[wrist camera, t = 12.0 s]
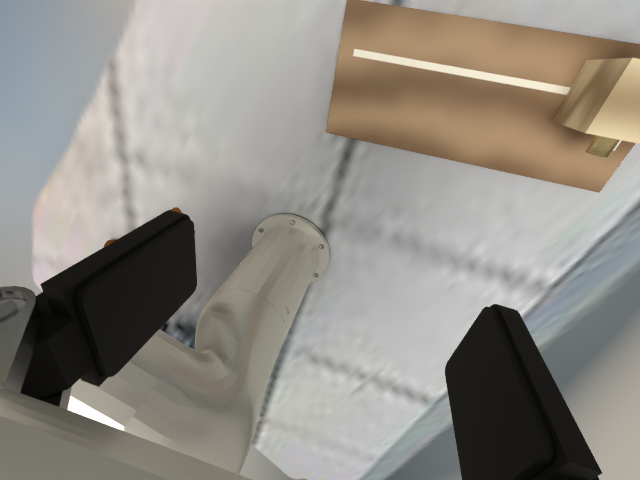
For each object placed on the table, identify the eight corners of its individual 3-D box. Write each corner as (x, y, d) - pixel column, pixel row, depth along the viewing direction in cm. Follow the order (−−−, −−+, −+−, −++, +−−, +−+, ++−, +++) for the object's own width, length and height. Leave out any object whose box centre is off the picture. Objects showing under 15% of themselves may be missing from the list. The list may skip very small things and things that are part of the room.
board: (586, 184, 31) (599, 192, 29) (330, 128, 35) (325, 132, 33) (676, 55, 25) (701, 53, 23) (351, 3, 29) (347, -2, 26)
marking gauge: (598, 148, 28) (641, 166, 23) (543, 137, 28) (573, 152, 23) (664, 49, 23) (736, 44, 18) (597, 38, 24) (649, 30, 19)
